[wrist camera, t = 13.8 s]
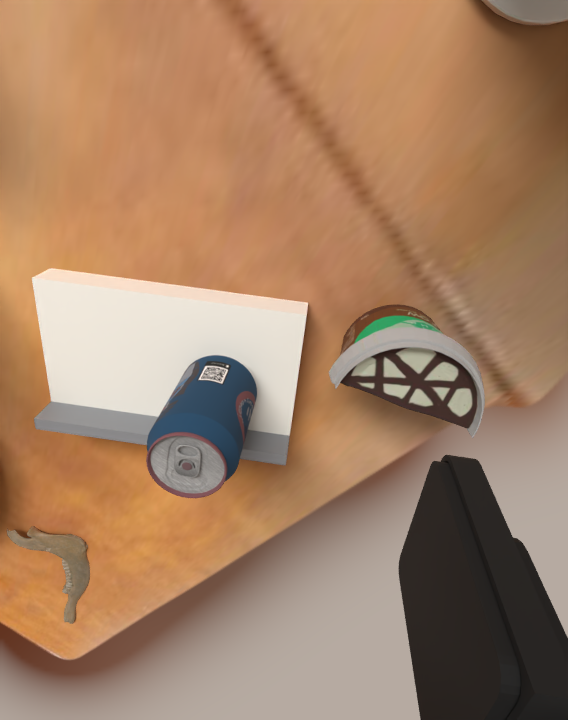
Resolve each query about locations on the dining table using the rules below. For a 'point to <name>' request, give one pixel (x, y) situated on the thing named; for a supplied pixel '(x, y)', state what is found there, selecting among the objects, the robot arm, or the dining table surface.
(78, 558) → the jawbone
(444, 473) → the robot arm
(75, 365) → the display shelf
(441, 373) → the food container
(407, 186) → the dining table surface
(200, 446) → the soda can
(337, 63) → the dining table surface
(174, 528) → the dining table surface
